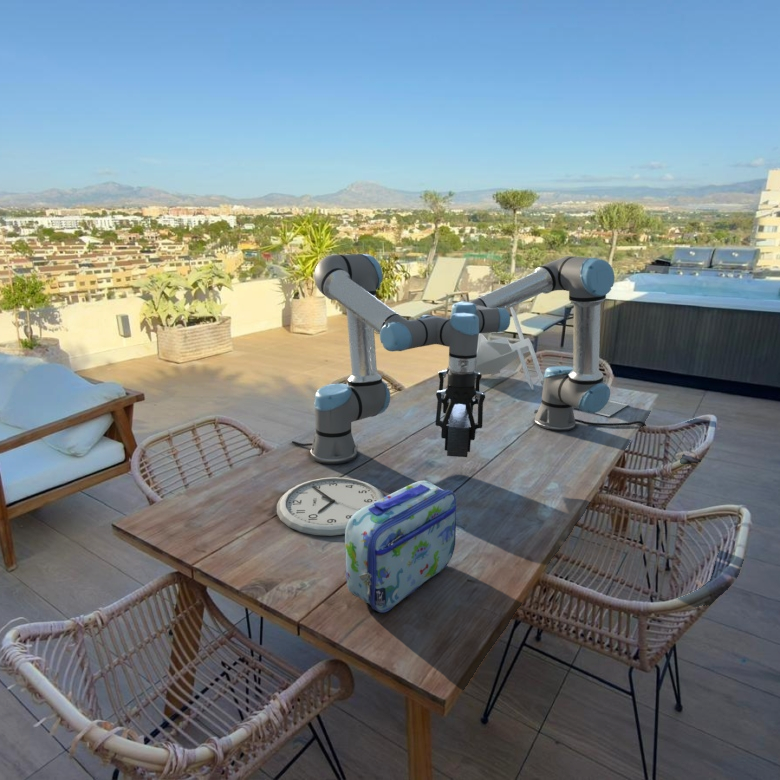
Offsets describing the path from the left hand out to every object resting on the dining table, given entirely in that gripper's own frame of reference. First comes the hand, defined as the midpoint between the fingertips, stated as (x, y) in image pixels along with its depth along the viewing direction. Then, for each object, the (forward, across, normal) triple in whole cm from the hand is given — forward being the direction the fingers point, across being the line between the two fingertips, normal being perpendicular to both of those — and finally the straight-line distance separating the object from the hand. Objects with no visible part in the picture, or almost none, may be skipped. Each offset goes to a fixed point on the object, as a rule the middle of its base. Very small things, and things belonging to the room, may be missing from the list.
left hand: (457, 449), depth 149 cm
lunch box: (+13, -11, -44) cm, 48 cm away
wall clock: (+13, -33, -14) cm, 38 cm away
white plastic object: (+13, +21, +113) cm, 115 cm away
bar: (+1, 0, +10) cm, 11 cm away
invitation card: (+13, +63, +84) cm, 106 cm away
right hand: (0, 0, +21) cm, 21 cm away
